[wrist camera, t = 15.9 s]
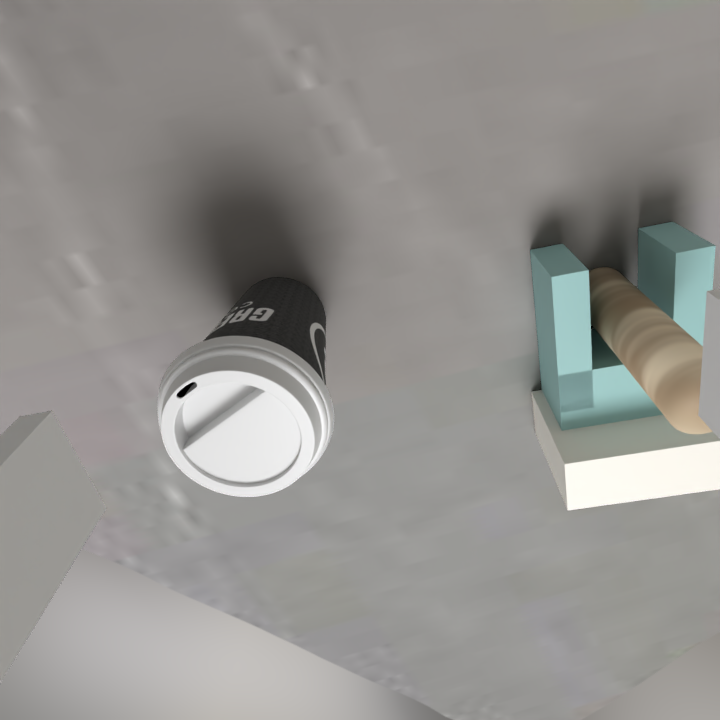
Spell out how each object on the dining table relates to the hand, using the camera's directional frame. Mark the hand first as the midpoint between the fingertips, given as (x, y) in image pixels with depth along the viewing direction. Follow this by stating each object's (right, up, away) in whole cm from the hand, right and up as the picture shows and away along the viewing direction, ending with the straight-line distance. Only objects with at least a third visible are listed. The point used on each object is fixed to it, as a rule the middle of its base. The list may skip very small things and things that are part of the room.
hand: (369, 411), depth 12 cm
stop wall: (+19, -2, +33) cm, 38 cm away
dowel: (+17, +6, +29) cm, 34 cm away
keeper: (+17, +5, +29) cm, 34 cm away
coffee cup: (-6, +4, +31) cm, 32 cm away
